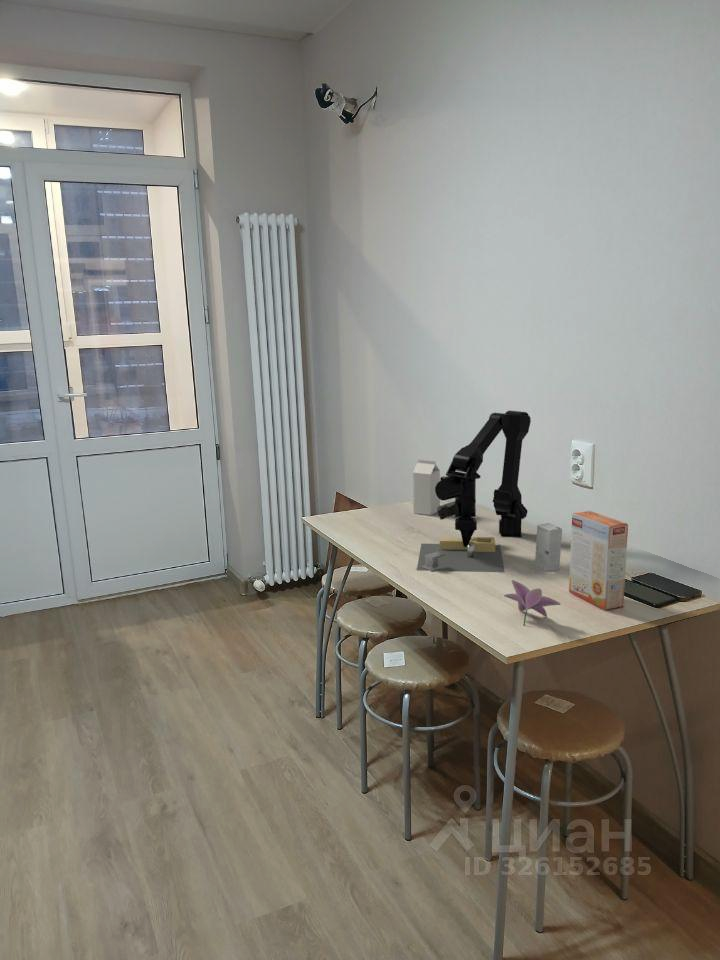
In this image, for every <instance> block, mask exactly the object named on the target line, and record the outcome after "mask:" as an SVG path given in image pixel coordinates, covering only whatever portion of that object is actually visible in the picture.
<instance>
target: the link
mask: <svg viewBox="0 0 720 960" xmlns="http://www.w3.org/2000/svg"><path fill="white" fill-rule="evenodd" d="M439 544H440V549H453V550H467V547H464V546H463V541H462V537H461V538H460V537H459V538H457V537H456V538H455V537H451V538H450V537H449V538H448V537H439ZM469 544H472V545H474V552H495V545H496V539H495V537H493V536H492V537H491V536H487V537H486V536H472V538H471V539H470V542H469ZM469 544H468V545H469Z"/></svg>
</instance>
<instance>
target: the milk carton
mask: <svg viewBox="0 0 720 960" xmlns="http://www.w3.org/2000/svg"><path fill="white" fill-rule="evenodd" d="M436 462H437V461H436V460H424V459H417V463H416V465H415V467H414V470H413V471H412V476H413V477H412V480H413V481H412V485H413V486H412V490H413V491H412V492H413V493H412V498H413V500H412V501H413V503H412V507H413V510H412V511H413V514H419V515H426V516H433V515H434V514H436V513H438V512H437V507H439V506H441V500H440V499H439V498H438V497H437V495H436V492H435V487H436V485H437V483H438V482H439V481H440V478H441V470H440V469H439V467H438V466H437V464H436Z"/></svg>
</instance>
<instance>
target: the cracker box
mask: <svg viewBox="0 0 720 960" xmlns="http://www.w3.org/2000/svg"><path fill="white" fill-rule="evenodd" d="M628 531H629V524H628V523H626V522H623V521H621V520H617V519H616V518H611V517H609V516H606V515H603V514H600V513H596V512H594V511H590V510H587V511H578V512H573V513H572V514H571V533H570V535H571V536H570V537H571V539H570V558H569V559H570V561H569V579H568V580H569V582H568V592H569V593H571V594H573V595H575V596H577V597H579V598H580V599H582V600H584V601H586V602H588V603H590V604H592V605H594V606H596V607H598V608H599V609H601V610H604V611H607V610H612V608H613V609H618V608H617V607H619V608H622V607H621V606H623V607H624V599H625V586H626V585H625V583H626V582H625V581H626V568H627V566H626V565H627V551H628V550H627V548H628V534H629V532H628Z"/></svg>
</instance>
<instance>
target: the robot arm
mask: <svg viewBox="0 0 720 960" xmlns="http://www.w3.org/2000/svg"><path fill="white" fill-rule="evenodd" d="M488 417H489V418H488V420H487V421H486V422H485V424H484V425H483V426H482V428H481V429H480V430H479V431H478V433H477V434H476V436H474V438H473V440H471V442H470V443H469V444H468V445H466V446H464V447H461V448H459V450H458V451H457V452H456V453H455V454H454V456H453V457H452V460H451V463H450V464H449V467H448V469H447V470H446V472H445V476H440V481H439V482H438V483H437V485H436V487H435V492H436V495H437V497H438V498H439V499H440V501H448V500H452V499H454V501H451V502H447V503H445V504H440V506H439V507H437V512H436V513H437V514H438V517H439V520H441V521H442V520H446V518H449V517H453V516H454V518H455V520H454V522H455V523H454V529H455V530H456V531H459V532H460V535H461V538H462V541H463V546H464V547H467V545H468V544H469V542H470V539H472V538H473V535H474V533H475V531H477V530H478V527H477V526H478V521H477V519H476V518H474V517H477V515H476V512H477V511H476V509H477V508H476V502H477V500H476V497H477V496H476V492H477V489H476V487H477V486H476V485H477V484H476V483H477V480H478V479H481V475H480V474H479V473H478V472H477V471H478V470H479V469H480V467H481V465H482V463H483V462H484V461H483V460H484V459H483V458H484V454H485V452H486V451H487V450H488V448H489V447H490V446H491V444H492V443H493V442H494V441H495V439H496V438H497V437H498V435H499V434H500V433H501V431H502V433H503V435H504V437H505V446H504V447H505V448H504V455H503V456H504V458H503V464H502V465H503V466H502V477H501V484H500V486H498V488H497V489H494V491H493V498H492V502H493V508H494V511H495V515H496V516H500V518H499V519H498V534H499V535H500V537H502V538H523V534H522V520H525V518H526V517H527V516H528V509H527V507H525V506H524V504H523V503H522V493H521V490H520V488H519V487H518V486H519V485H518V484H519V476H520V475H519V474H520V466H521V465H520V464H521V456H522V455H521V454H522V446H523V440H524V439H525V438H526V436H527V434H528V433H529V431H530V426H531V419H532V418H531V416H530V414H529V413H528V412H526V411H519V410H507V411H506V412H505V413H502V412H492V413H491V414H490V415H489V416H488Z"/></svg>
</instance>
